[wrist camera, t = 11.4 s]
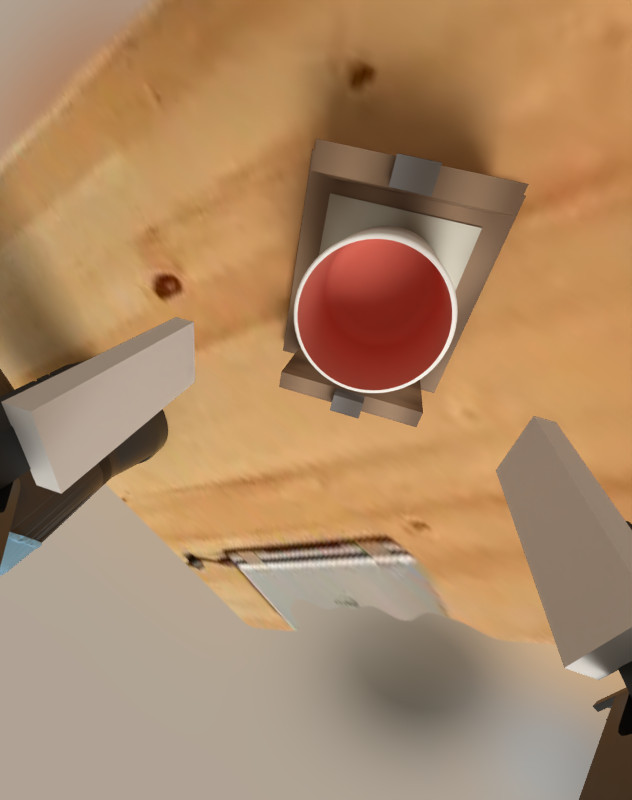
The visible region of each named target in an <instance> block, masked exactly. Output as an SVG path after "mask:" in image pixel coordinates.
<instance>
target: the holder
mask: <svg viewBox="0 0 632 800" xmlns="http://www.w3.org/2000/svg"><path fill="white" fill-rule="evenodd" d="M441 165H442V163H441V162H436V161H431V160H427V159H422V158H417V157H413V156H408V155H403V154H399V153H397V156H395V155H390V154H385V153H381V152H376V151H371V150H367V149H362V148H357V147H353V146H348V145H343V144H339V143H334V142H329V141H325V140H320V139H316V143H315V150H313V149H312V156H311V163H310V169H309V176H308V183H307V190H306V197H305V204H304V211H303V217H302V224H301V231H300V238H299V245H298V252H297V259H296V266H295V272H294V279H293V286H292V293H291V300H290V307H289V314H288V320H287V327H286V334H285V341H284V348H283V350H284V351H287V352H291V353H294V354H295V355H294V356H293V357H292V359H291V360H290V361H289V363H288V364H287V365H286V367H285V368H284V369H283V371H282V372H281V379H280V386H279V387H281V388H285V389H288V390H292V391H295V392H298V393H302V394H305V395H309V396H312V397H315V398H319V399H322V400H326V401H329V402H332V404H331V408H330V410H331V411H335V412H338V413H341V414H345V415H348V416H352V417H355V418H359V415H360V412H361V411H363V412H366V413H370V414H373V415H376V416H380V417H383V418H387V419H390V420H393V421H397V422H400V423H404V424H407V425H410V426H414V427H417V424H418V422H419V420H420V418H421V416H422V414H423V408H422V396H421V390H425V391H429V392H432V393H434V392H435V390H436V388H437V385H438V383H439V381H440V379H441V377H442V375H443V373H444V370H445V368H446V366H447V364H448V362H449V360H450V358H451V355H452V353H453V351H454V349H455V347H456V345H457V343H458V340H459V338H460V336H461V334H462V332H463V330H464V327H465V325H466V323H467V321H468V319H469V317H470V315H471V312H472V310H473V308H474V306H475V304H476V302H477V300H478V297H479V295H480V293H481V291H482V289H483V287H484V285H485V282H486V280H487V278H488V276H489V274H490V272H491V270H492V267H493V265H494V263H495V261H496V259H497V257H498V255H499V252H500V250H501V248H502V246H503V244H504V242H505V239H506V237H507V235H508V233H509V231H510V229H511V227H512V224H513V222H514V220H515V218H516V216H517V214H518V212H519V209H520V207H521V205H522V203H523V201H524V199H525V197H526V196H525V195H524V193H525V191H526V188H527V186H528V184H526V183H521V182H516V181H512V180H507V179H502V178H498V177H493V176H488V175H484V174H479V173H474V172H469V171H465V170H460V169H455V168H451V167H446V166H441ZM384 225H387V226H397V227H401V228H404V229H407V230H409V231H411V232H413V233H415V234H417V235H418V236H420V237H421V238H422V239H423V240H425V241H426V242H427V243H428V244H429V246H430V247H431V248H432V249H433V251H434V252H435V254H436V256H437V257H438V259H439V260H440V262H441V263H442V265H443V266H444V268H445V269H446V271H447V273H448V274H449V277H450V279H451V281H452V283H453V286H454V290H455V293H456V298H457V309H458V314H457V323H456V329H455V333H454V336H453V339H452V341H451V344H450V346H449V348H448V350H447V351H446V353H445V355H444V356H443V358H442V359H441V360H440V362H439V363H438V364H437V365H436V366H435V367H434V368H433V369H432V370H431V371H430V372H429V373H428V374H427V375H425V376H424V377H423V378H421V379H420V380H418V381H416V382H415V383H413V384H411V385H409V386H407V387H404V388H401V389H398V390H395V391H390V392H384V393H363V392H357V391H353V390H350V389H346V388H344V387H341V386H339V385H337V384H335V383H333V382H332V381H330V380H329V379H327V378H326V377H324V376H323V375H322V374H321V373H319V372H318V371H317V370H316V369H315V368H314V366H313V365H312V364H311V363H310V362H309V360H308V359H307V357H306V356H305V354H304V352H303V351H302V349H301V346H300V344H299V341H298V339H297V335H296V331H295V326H294V304H295V298H296V294H297V290H298V288H299V285H300V282H301V280H302V278H303V276H304V274H305V273H306V271H307V270H308V268H309V267H310V266H311V264H312V263H313V262H314V261H315V260H316V258H317V257H318V256H319V255H321V254H322V253H323V252H324V251H325V250H327V249H328V248H329V247H331V246H332V245H334V244H336V243H338V242H339V241H341V240H343V239H345V238H347V237H349V236H351V235H353V234H355V233H357V232H359V231H362V230H364V229H367V228H370V227H375V226H384Z"/></svg>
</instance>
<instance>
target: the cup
mask: <svg viewBox="0 0 632 800" xmlns="http://www.w3.org/2000/svg"><path fill="white" fill-rule="evenodd" d="M457 314H458V309H457V298H456V293H455V290H454V286H453V283H452V281H451V279H450V277H449V274H448V273H447V271H446V269H445V268H444V266H443V265H442V263H441V262H440V260H439V259H438V257H437V256H436V254H435V252H434V251H433V249H432V248H431V247H430V246H429V244H428V243H427V242H426V241H425V240H423V239H422V238H421V237H420V236H418V235H417V234H415V233H413V232H411V231H409V230H407V229H404V228H401V227H397V226H387V225H384V226H375V227H370V228H367V229H364V230H362V231H359V232H357V233H355V234H353V235H351V236H349V237H347V238H345V239H343V240H341V241H339V242H338V243H336V244H334V245H332V246H331V247H329V248H328V249H327V250H325V251H324V252H323V253H322V254H321V255H319V256H318V257H317V258H316V260H315V261H314V262H313V263H312V264H311V266H310V267H309V268H308V270H307V271H306V273H305V274H304V276H303V278H302V280H301V282H300V285H299V288H298V290H297V294H296V298H295V304H294V326H295V331H296V335H297V339H298V341H299V344H300V346H301V349H302V351H303V352H304V354H305V356H306V357H307V359H308V360H309V362H310V363H311V364H312V365H313V366H314V368H315V369H316V370H317V371H318V372H319V373H321V374H322V375H323V376H324V377H326V378H327V379H329V380H330V381H332V382H333V383H335V384H337V385H339V386H341V387H344V388H346V389H350V390H353V391H357V392H363V393H384V392H390V391H395V390H398V389H401V388H404V387H407V386H409V385H411V384H413V383H415V382H416V381H418V380H420V379H421V378H423V377H424V376H425V375H427V374H428V373H429V372H430V371H431V370H432V369H433V368H434V367H435V366H436V365H437V364H438V363H439V362H440V360H441V359H442V358H443V356H444V355H445V353H446V351H447V350H448V348H449V346H450V344H451V341H452V339H453V336H454V333H455V329H456V323H457Z"/></svg>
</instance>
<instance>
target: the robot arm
mask: <svg viewBox="0 0 632 800" xmlns="http://www.w3.org/2000/svg"><path fill="white" fill-rule="evenodd" d="M194 382H195V351H194V322H192V321H188V320H185V319H181V318H177V317H175V318H173V319H171V320H169V321H167V322H165V323H163V324H161V325H159V326H157V327H155V328H153V329H151V330H148V331H146V332H144V333H142V334H140V335H138V336H136V337H134V338H132V339H130V340H128V341H126V342H124V343H122V344H120V345H118V346H116V347H113V348H111V349H109V350H107V351H105V352H103V353H101V354H99V355H97V356H95V357H93V358H91V359H89V360H87V361H82V362H78V363H74V364H70V365H66V366H64V367H62V368H60V369H58V370H56V371H54V372H52V373H50V375H45V376H43V377H41V378H39V379H37V381H36V382H35V381H32V382H30V383H28V384H26V385H24V386H22V387H20V388H18V389H16V390H14V388H13V387H12V385H11V384H10V382H9V381H8V379H7V378H6V376H5V375H4V373H3V372H2V371H1V369H0V576H1V575H3V574H4V573H6V572H8V571H9V570H10V569H11V568H13V567H14V566H15V565H16V564H17V563H19V562H20V561H21V560H22V559H24V558H25V557H26V556H27V555H29V554H30V553H31V552H32V551H33V550H35V549H37V548H39V547H40V546H41V545H42V542H43V541H44V540H45V539H46V538H47V537H48V536H49V535H50V534H52V533H53V532H54V531H55V530H56V529H57V528H58V527H59V526H60V525H61V524H62V523H63V522H64V521H65V520H66V519H68V518H69V517H70V516H71V515H72V514H73V513H74V512H75V511H76V510H77V509H78V508H79V507H80V506H82V505H83V504H84V503H85V502H86V501H87V500H88V499H89V498H90V497H91V496H92V495H93V494H94V493H95V492H96V491H97V490H99V489H100V488H101V487H102V486H103V485H104V484H105V483H106V482H107V481H108V480H109V479H111V478H112V477H113V476H115V475H117V474H119V473H121V472H123V471H125V470H127V469H129V468H131V467H132V466H134V465H136V464H139V463H142V462H144V461H147V460H148V459H150V458H151V457H153V456H154V455H155V454H156V453H157V452H158V451H159V450H160V449H161V448H162V447H163V445H164V444H165V442H166V439H167V435H168V428H167V422H166V419H165V416H164V414H163V412H162V409H163V408H164V407H165V406H167V405H168V404H169V403H170V402H171V401H173V400H174V399H175V398H176V397H177V396H179V395H180V394H181V393H182V392H183V391H185V390H186V389H187V388H188V387H189V386H190V385H192V384H193V383H194ZM496 472H497V475H498V478H499V481H500V484H501V486H502V489H503V492H504V495H505V498H506V501H507V504H508V507H509V510H510V512H511V515H512V518H513V521H514V524H515V527H516V530H517V533H518V535H519V538H520V541H521V544H522V547H523V550H524V553H525V556H526V559H527V561H528V564H529V567H530V570H531V573H532V576H533V579H534V582H535V584H536V587H537V590H538V593H539V596H540V599H541V602H542V605H543V608H544V610H545V613H546V616H547V619H548V622H549V625H550V628H551V631H552V633H553V636H554V639H555V642H556V645H557V648H558V651H559V654H560V656H561V659H562V662H563V665H564V668H566V669H569V670H572V671H575V672H578V673H581V674H584V675H586V676H589V677H592V678H595V679H598V680H600V679H602V678H604V677H606V676H608V675H609V674H611V673H613V672H615V671H617V670H619V672H620V674H621V676H622V678H623V680H624V682H625V685H626V688H624V689H622V690H620V691H618V692H616V693H614V694H611V695H610V696H607V697H605V698H603V699H601V700H599V701H597V702H596V703H595V704H594V705H593V707H594V708H595V709H596V710H597V711H598V712H599V711H601V710H603V709H605V708H611V710H610V713H609V716H608V718H607V719H606V720H607V722H606V725H605V727H604V730H603V733H602V736H601V738H600V741H599V744H598V747H597V750H596V753H595V755H594V759H593V761H592V764H591V767H590V770H589V773H588V775H587V778H586V781H585V784H584V787H583V790H582V792H581V795H580V798H579V800H632V524H631V523H630V522H628V521H625V520H624V518H623V517H622V516H621V514H620V513H619V511H618V510H617V508H616V507H615V506H614V504H613V503H612V501H611V500H610V498H609V497H608V496H607V494H606V493H605V491H604V490H603V489H602V487H601V486H600V484H599V483H598V481H597V480H596V479H595V477H594V476H593V474H592V473H591V471H590V470H589V469H588V467H587V466H586V464H585V463H584V461H583V460H582V459H581V457H580V456H579V454H578V453H577V451H576V450H575V449H574V447H573V446H572V444H571V443H570V442H569V440H568V439H567V437H566V436H565V434H564V433H563V432H562V430H561V429H560V427H559V426H558V424H557V423H556V422H554V421H550V420H547V419H543V418H539V417H536V416H533V418H532V419H531V421H530V422H529V423H528V425H527V426H526V428H525V429H524V431H523V432H522V433H521V435H520V436H519V438H518V439H517V441H516V442H515V444H514V445H513V446H512V448H511V449H510V451H509V452H508V454H507V455H506V456H505V458H504V459H503V461H502V462H501V464H500V465H499V467H498V468H497V469H496Z"/></svg>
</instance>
